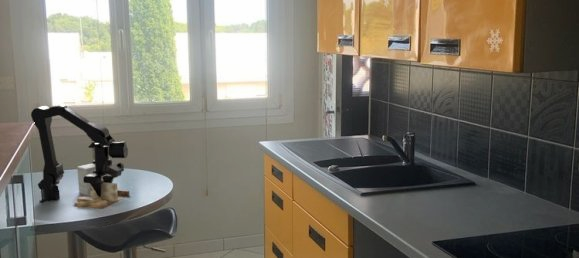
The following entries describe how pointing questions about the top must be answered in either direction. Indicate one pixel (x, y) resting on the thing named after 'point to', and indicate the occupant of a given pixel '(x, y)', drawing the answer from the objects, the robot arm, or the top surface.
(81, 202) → the offcut stack
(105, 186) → the birch panel
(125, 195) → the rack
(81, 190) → the supplement box
